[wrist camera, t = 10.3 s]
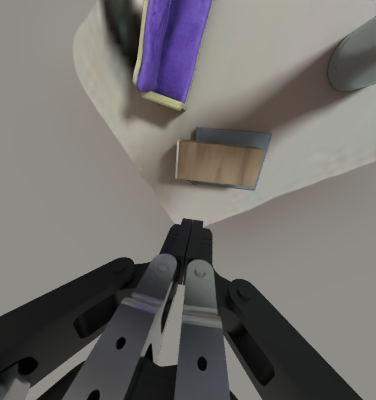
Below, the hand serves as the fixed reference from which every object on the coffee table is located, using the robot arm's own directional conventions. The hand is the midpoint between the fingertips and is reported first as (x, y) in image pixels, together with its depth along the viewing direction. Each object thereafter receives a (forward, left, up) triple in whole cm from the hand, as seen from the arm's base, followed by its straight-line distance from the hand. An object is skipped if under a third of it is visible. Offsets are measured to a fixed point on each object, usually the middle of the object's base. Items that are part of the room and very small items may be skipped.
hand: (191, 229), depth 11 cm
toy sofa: (+8, -21, -31) cm, 38 cm away
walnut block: (+7, 0, -25) cm, 26 cm away
